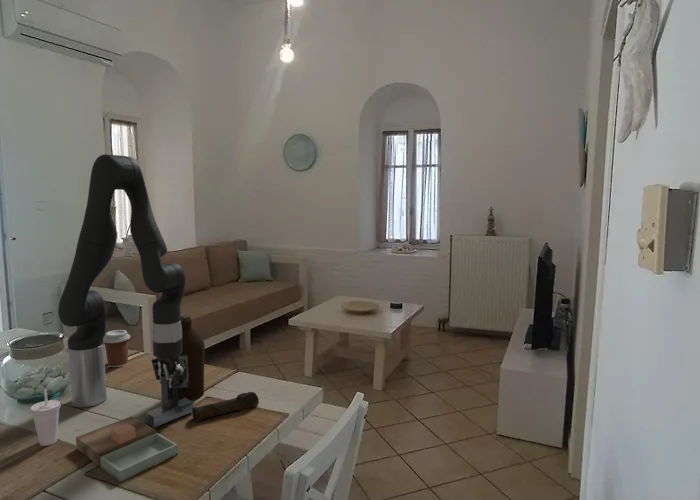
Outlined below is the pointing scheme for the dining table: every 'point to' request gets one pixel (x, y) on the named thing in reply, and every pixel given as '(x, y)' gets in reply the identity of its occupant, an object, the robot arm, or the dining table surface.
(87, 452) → the brown slab
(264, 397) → the dining table surface
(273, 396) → the dining table surface
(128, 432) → the tile
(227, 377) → the dining table surface
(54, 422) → the smoothie
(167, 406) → the scraper
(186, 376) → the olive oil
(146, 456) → the box
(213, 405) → the hand tool
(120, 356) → the coffee cup
